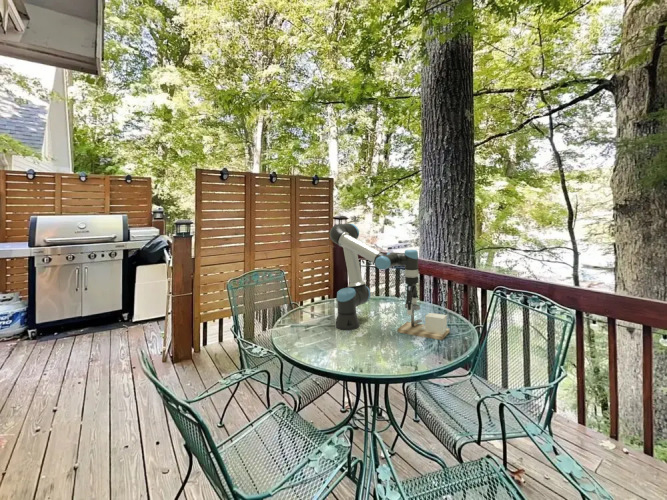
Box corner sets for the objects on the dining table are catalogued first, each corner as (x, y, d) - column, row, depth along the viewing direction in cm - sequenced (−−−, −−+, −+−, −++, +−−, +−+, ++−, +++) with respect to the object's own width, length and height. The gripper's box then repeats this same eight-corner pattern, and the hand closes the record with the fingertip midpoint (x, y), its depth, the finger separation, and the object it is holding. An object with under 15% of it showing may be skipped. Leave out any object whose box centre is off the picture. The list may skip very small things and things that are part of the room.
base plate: (397, 332, 198) (397, 328, 198) (407, 325, 210) (406, 321, 210) (442, 340, 184) (442, 336, 183) (449, 332, 195) (449, 328, 195)
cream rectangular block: (420, 330, 194) (420, 315, 193) (424, 326, 200) (424, 312, 199) (443, 334, 186) (442, 318, 185) (446, 330, 192) (446, 315, 191)
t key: (416, 328, 196) (416, 306, 194) (405, 325, 202) (404, 303, 200) (426, 324, 202) (426, 302, 201) (415, 321, 208) (414, 300, 207)
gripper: (413, 281, 184) (414, 318, 186) (422, 272, 206) (422, 306, 209) (400, 280, 187) (400, 317, 189) (409, 272, 209) (410, 305, 212)
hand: (412, 311), depth 199 cm, fingers open, 13 cm apart
